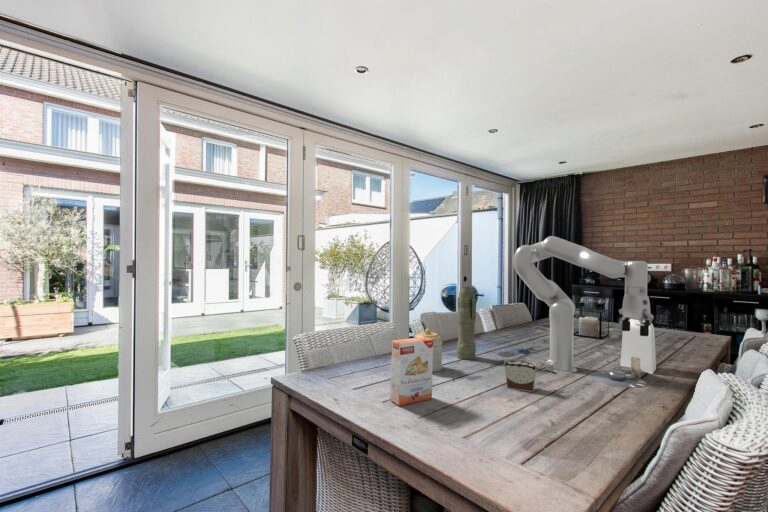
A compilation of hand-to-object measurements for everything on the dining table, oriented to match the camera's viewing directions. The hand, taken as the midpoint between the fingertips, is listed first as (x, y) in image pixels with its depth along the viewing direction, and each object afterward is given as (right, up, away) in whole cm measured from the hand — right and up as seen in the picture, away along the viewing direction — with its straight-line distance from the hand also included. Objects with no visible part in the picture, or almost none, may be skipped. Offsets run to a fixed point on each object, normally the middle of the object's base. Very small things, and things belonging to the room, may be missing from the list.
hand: (634, 333), depth 150 cm
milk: (+14, -20, +19) cm, 31 cm away
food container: (-50, -19, -8) cm, 54 cm away
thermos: (-61, -19, +34) cm, 72 cm away
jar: (-83, -19, +15) cm, 86 cm away
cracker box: (-92, -19, -23) cm, 97 cm away
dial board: (-8, -20, -1) cm, 21 cm away
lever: (-5, -18, -1) cm, 18 cm away
